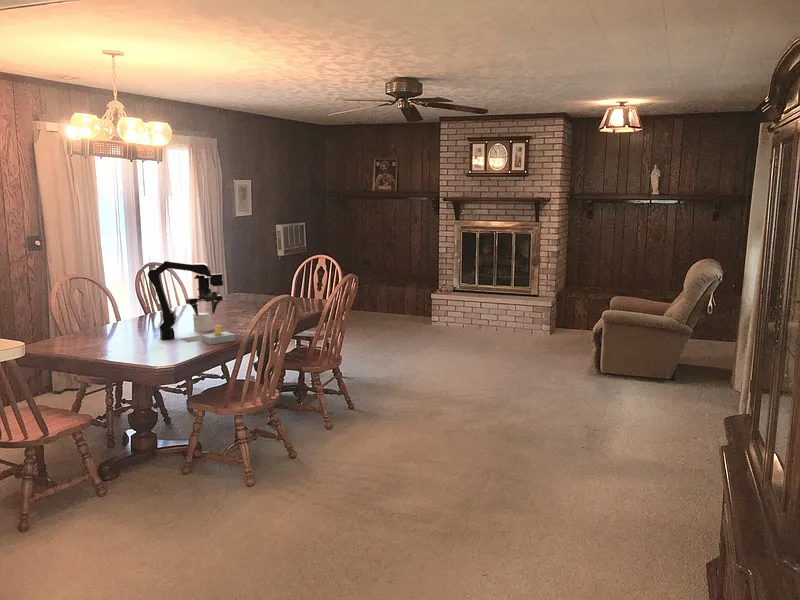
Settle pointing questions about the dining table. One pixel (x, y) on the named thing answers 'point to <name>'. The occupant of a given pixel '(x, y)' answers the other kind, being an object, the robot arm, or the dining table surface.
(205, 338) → the socket block
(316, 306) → the dining table surface
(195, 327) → the small box
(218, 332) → the peg
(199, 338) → the mat
